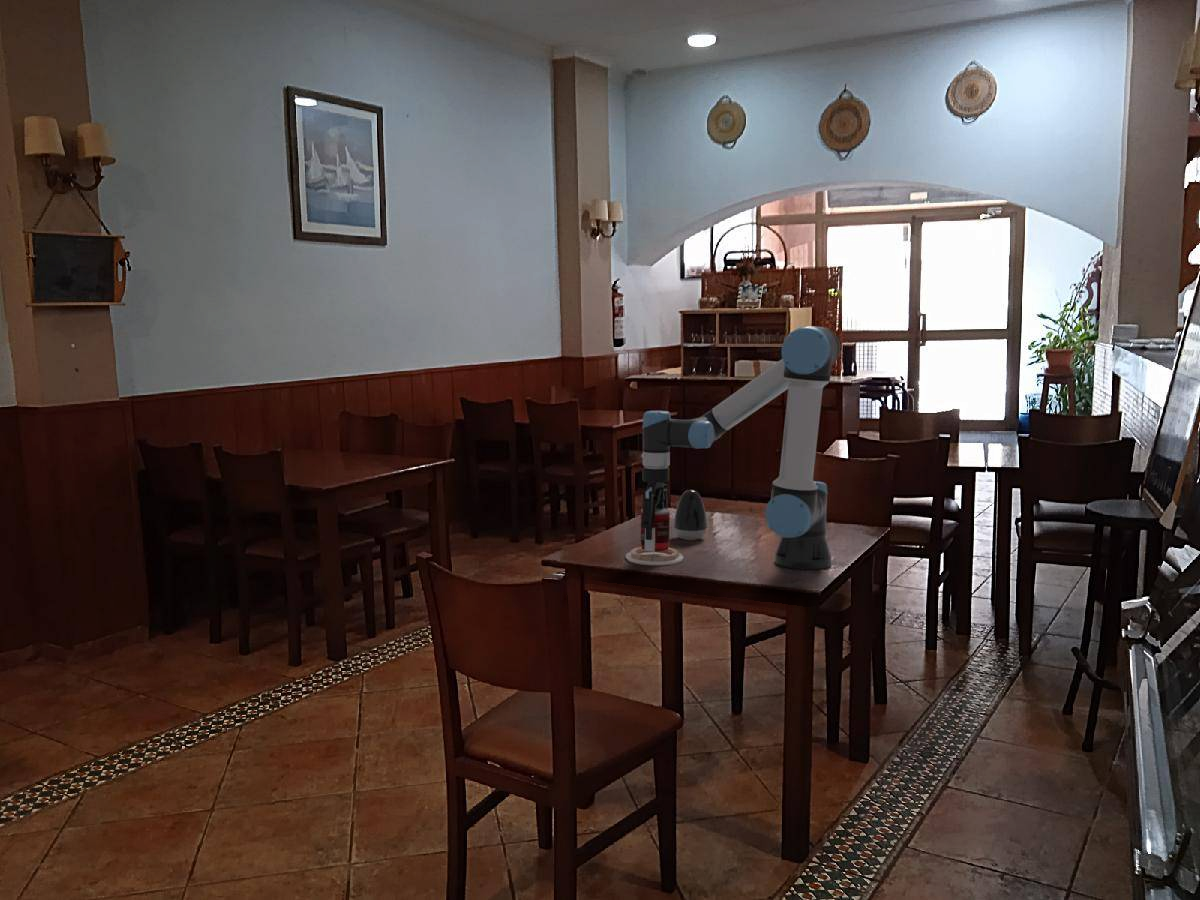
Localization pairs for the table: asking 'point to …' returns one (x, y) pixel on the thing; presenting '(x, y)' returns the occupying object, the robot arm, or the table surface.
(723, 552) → the table surface
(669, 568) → the table surface
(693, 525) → the dark grey rounded dome
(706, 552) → the table surface
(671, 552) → the dish
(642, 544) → the canned food
